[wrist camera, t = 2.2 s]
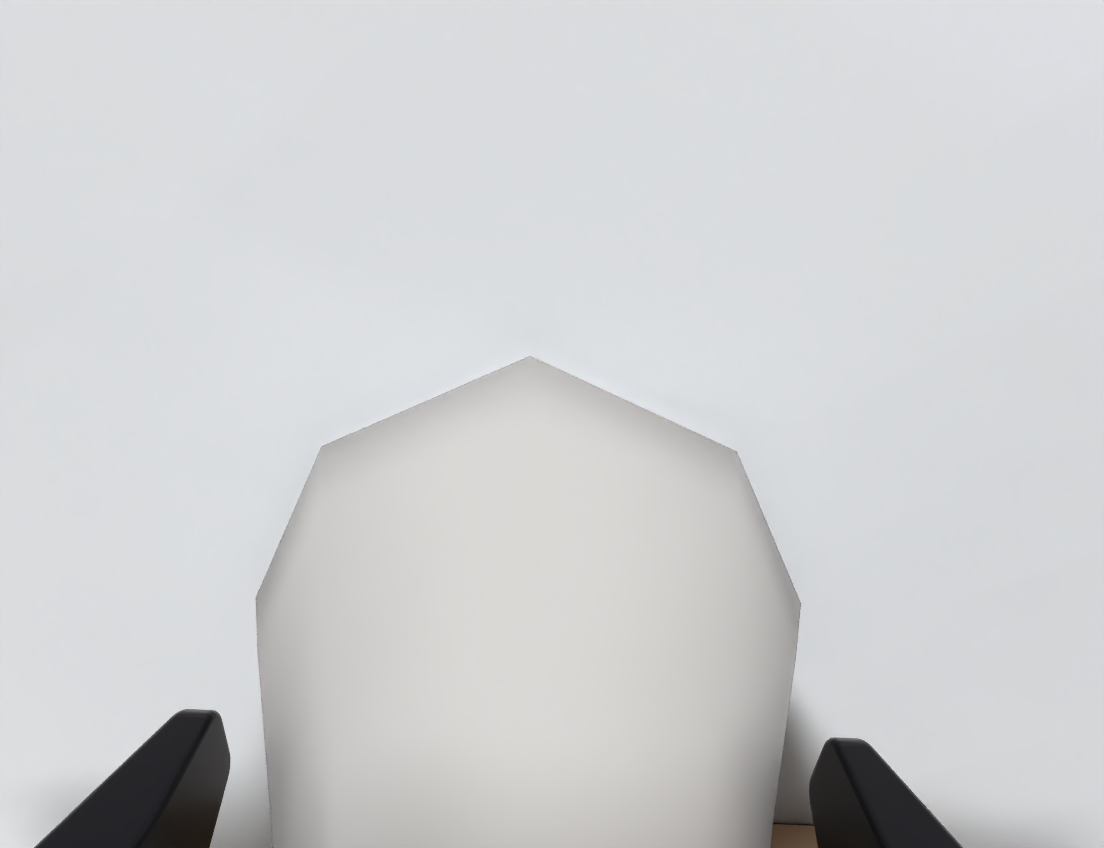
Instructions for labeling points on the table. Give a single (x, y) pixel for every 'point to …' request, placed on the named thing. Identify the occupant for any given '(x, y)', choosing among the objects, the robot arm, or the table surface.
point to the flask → (525, 631)
